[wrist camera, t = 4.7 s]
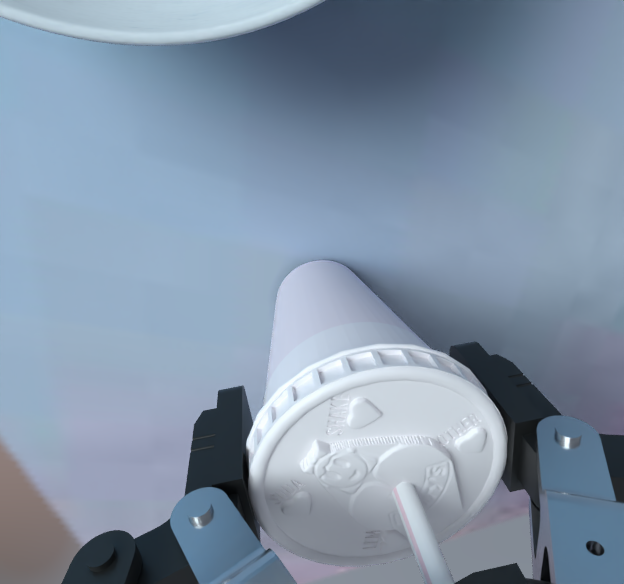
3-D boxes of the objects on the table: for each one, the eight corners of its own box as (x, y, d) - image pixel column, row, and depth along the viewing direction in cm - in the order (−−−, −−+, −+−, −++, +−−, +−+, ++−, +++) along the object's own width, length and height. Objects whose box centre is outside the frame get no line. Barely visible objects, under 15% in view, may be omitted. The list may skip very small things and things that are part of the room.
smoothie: (345, 383, 22) (491, 813, 9) (217, 333, 20) (175, 797, 7) (422, 268, 20) (746, 613, 7) (288, 199, 18) (405, 510, 5)
